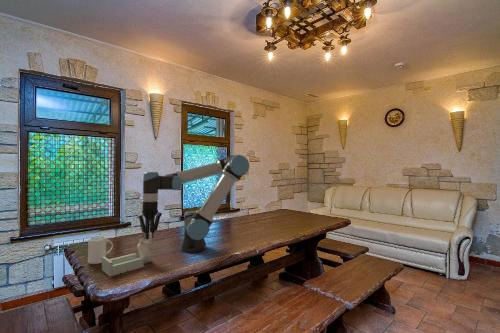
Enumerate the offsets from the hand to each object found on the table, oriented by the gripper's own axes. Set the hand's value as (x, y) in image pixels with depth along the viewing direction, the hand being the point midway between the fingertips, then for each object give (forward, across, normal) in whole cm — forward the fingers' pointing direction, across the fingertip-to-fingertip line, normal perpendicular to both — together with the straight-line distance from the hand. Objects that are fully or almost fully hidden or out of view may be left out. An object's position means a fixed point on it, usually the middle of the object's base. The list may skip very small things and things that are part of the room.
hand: (149, 244), depth 141 cm
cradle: (+9, +14, 0) cm, 16 cm away
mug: (+9, +18, -19) cm, 27 cm away
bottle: (+8, +2, 0) cm, 8 cm away
